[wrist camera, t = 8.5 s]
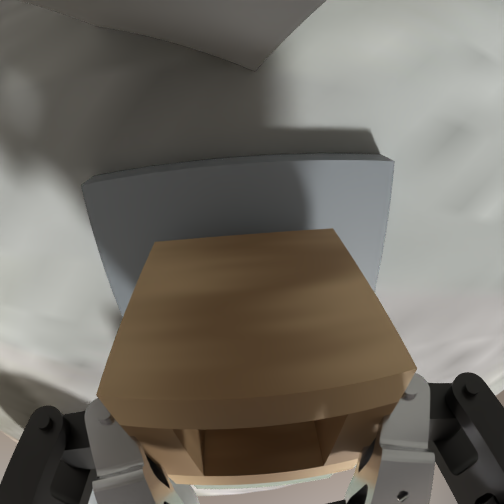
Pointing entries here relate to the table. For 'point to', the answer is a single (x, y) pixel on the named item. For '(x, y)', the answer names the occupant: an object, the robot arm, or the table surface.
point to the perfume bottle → (198, 22)
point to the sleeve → (254, 359)
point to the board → (238, 206)
